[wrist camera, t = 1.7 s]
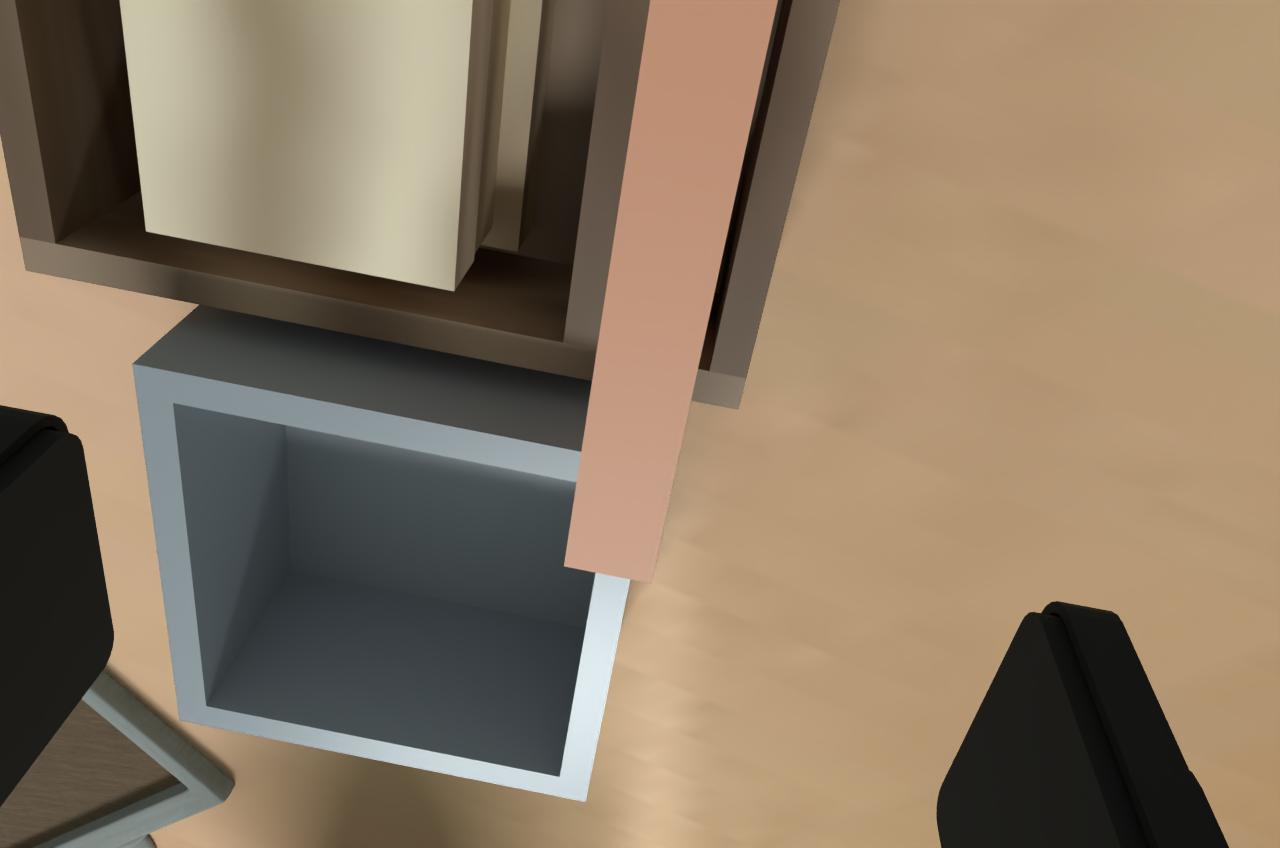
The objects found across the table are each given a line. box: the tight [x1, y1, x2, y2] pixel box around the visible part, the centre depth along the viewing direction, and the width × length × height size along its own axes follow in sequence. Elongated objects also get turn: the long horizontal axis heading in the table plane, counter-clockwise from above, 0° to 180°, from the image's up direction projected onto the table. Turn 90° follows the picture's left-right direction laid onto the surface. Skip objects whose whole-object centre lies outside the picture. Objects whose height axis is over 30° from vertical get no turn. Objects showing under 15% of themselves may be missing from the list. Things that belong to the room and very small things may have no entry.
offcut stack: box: [120, 0, 556, 291], centre depth 26 cm, size 10×10×6 cm
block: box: [564, 0, 778, 583], centre depth 22 cm, size 2×10×15 cm, turn 171°
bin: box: [132, 305, 630, 802], centre depth 34 cm, size 14×14×8 cm
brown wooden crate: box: [0, 0, 840, 409], centre depth 27 cm, size 20×14×6 cm
